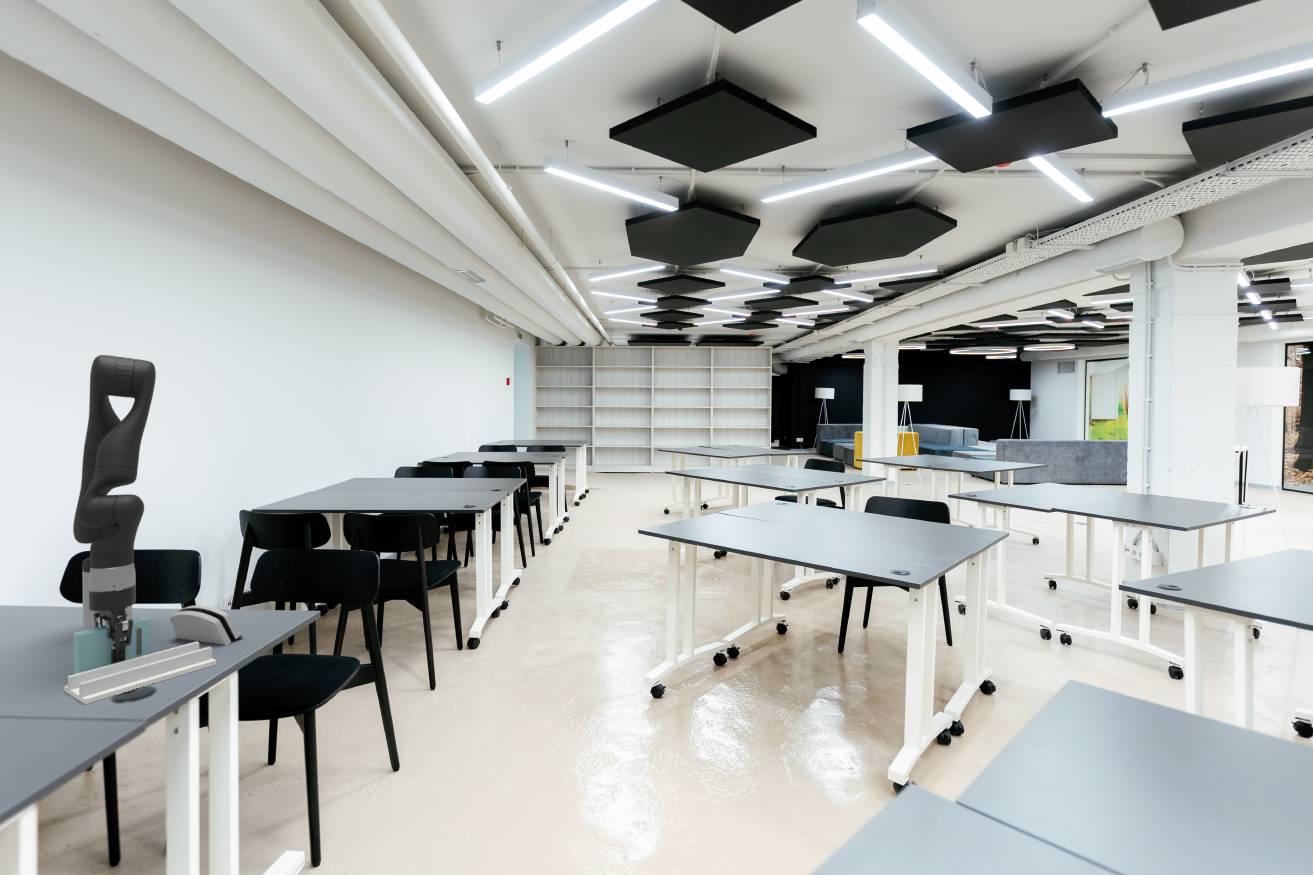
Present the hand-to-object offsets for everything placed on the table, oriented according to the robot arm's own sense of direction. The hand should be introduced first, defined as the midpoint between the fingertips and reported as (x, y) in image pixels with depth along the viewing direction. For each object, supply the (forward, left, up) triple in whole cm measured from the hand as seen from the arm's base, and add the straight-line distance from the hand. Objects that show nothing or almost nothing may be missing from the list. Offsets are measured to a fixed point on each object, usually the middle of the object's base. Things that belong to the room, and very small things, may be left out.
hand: (113, 661), depth 128 cm
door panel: (0, 0, -2) cm, 2 cm away
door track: (+10, +2, -2) cm, 10 cm away
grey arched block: (-4, +19, -2) cm, 20 cm away
